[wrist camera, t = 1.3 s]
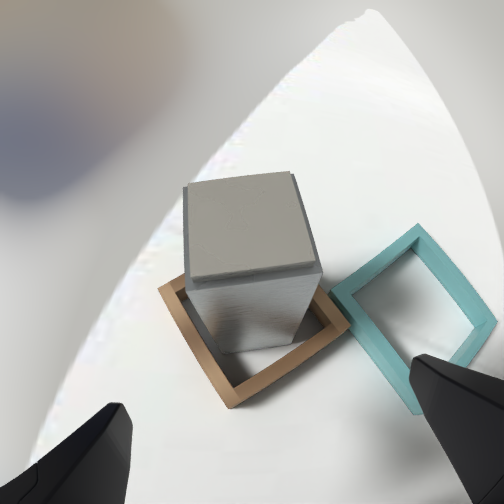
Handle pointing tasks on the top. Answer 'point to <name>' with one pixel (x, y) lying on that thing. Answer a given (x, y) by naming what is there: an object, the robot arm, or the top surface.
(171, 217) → the top surface
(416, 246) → the teal bin
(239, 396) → the walnut bin
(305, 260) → the tin
